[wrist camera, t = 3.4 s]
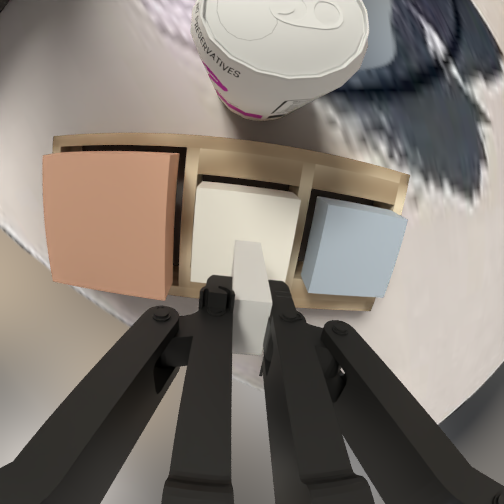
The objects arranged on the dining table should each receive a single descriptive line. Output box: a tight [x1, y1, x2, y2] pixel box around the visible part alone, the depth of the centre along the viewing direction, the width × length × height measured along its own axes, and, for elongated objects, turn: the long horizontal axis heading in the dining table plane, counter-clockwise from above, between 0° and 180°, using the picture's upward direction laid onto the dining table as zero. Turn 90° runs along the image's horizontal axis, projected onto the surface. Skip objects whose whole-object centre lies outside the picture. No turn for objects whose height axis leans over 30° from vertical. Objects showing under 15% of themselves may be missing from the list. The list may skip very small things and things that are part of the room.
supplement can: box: [190, 0, 369, 121], centre depth 14 cm, size 8×8×15 cm
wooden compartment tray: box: [52, 133, 410, 311], centre depth 24 cm, size 14×32×4 cm, turn 82°
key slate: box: [301, 196, 408, 298], centre depth 22 cm, size 7×7×4 cm
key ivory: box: [191, 181, 301, 283], centre depth 22 cm, size 7×7×4 cm
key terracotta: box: [43, 151, 179, 301], centre depth 21 cm, size 11×11×4 cm
